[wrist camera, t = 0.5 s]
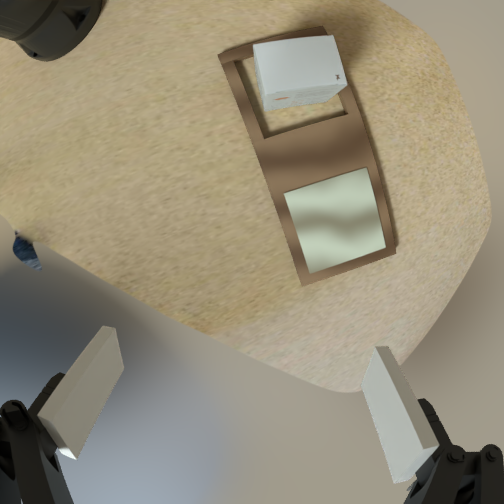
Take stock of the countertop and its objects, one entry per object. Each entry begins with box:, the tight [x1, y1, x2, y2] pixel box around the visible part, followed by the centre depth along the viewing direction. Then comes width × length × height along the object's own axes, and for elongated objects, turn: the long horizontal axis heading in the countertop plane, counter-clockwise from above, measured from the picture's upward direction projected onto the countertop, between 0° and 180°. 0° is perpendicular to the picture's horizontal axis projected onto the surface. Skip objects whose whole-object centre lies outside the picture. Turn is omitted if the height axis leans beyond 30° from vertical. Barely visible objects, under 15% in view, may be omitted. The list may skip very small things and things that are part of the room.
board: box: [218, 26, 396, 286], centre depth 34 cm, size 32×14×1 cm, turn 20°
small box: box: [253, 35, 348, 111], centre depth 27 cm, size 8×6×10 cm
